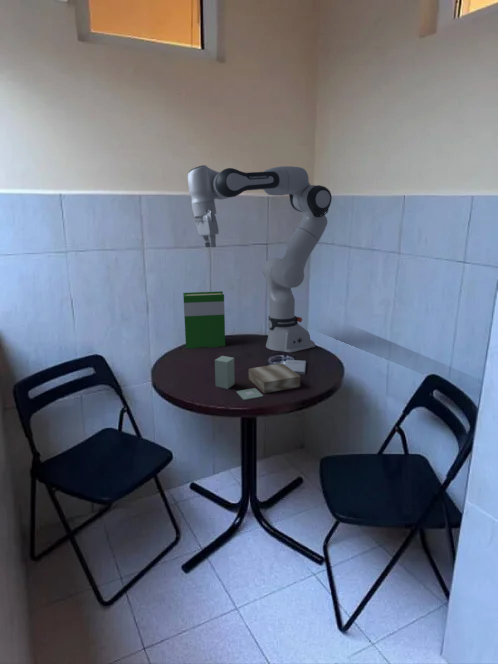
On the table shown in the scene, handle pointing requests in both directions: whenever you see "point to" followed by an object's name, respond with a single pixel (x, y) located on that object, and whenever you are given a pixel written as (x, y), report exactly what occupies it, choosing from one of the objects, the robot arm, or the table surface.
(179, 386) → the table surface
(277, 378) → the birch base block
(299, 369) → the external hard drive
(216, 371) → the sage block
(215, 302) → the hardback book
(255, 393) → the tile
